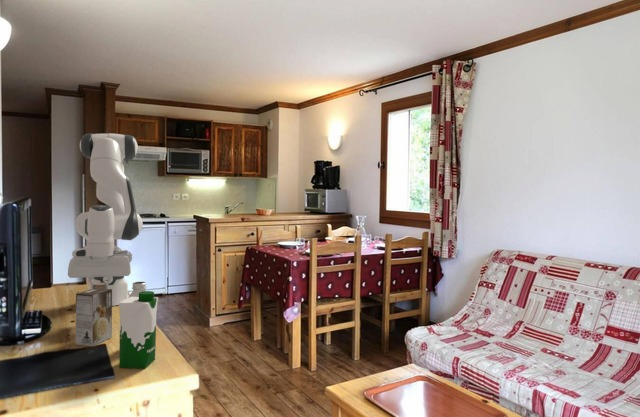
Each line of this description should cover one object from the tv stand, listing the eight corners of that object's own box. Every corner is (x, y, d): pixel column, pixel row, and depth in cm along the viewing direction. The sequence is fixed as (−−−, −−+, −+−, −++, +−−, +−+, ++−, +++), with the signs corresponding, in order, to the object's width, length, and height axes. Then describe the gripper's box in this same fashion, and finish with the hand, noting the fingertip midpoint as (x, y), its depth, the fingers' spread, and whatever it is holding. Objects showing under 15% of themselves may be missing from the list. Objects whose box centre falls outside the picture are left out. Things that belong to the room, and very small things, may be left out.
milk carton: (146, 370, 121) (148, 296, 121) (113, 369, 121) (115, 295, 121) (159, 358, 130) (161, 289, 129) (128, 357, 130) (129, 288, 130)
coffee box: (95, 335, 148) (95, 287, 148) (112, 337, 147) (113, 288, 146) (74, 344, 139) (75, 293, 139) (92, 346, 138) (93, 294, 138)
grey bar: (90, 291, 164) (90, 283, 164) (111, 290, 167) (111, 282, 167) (84, 301, 149) (85, 292, 149) (108, 300, 151) (108, 291, 151)
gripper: (132, 249, 168) (131, 286, 168) (69, 250, 160) (69, 288, 160) (131, 251, 162) (131, 289, 162) (67, 252, 154) (66, 292, 155)
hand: (99, 289), depth 161 cm, fingers closed on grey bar, 2 cm apart
